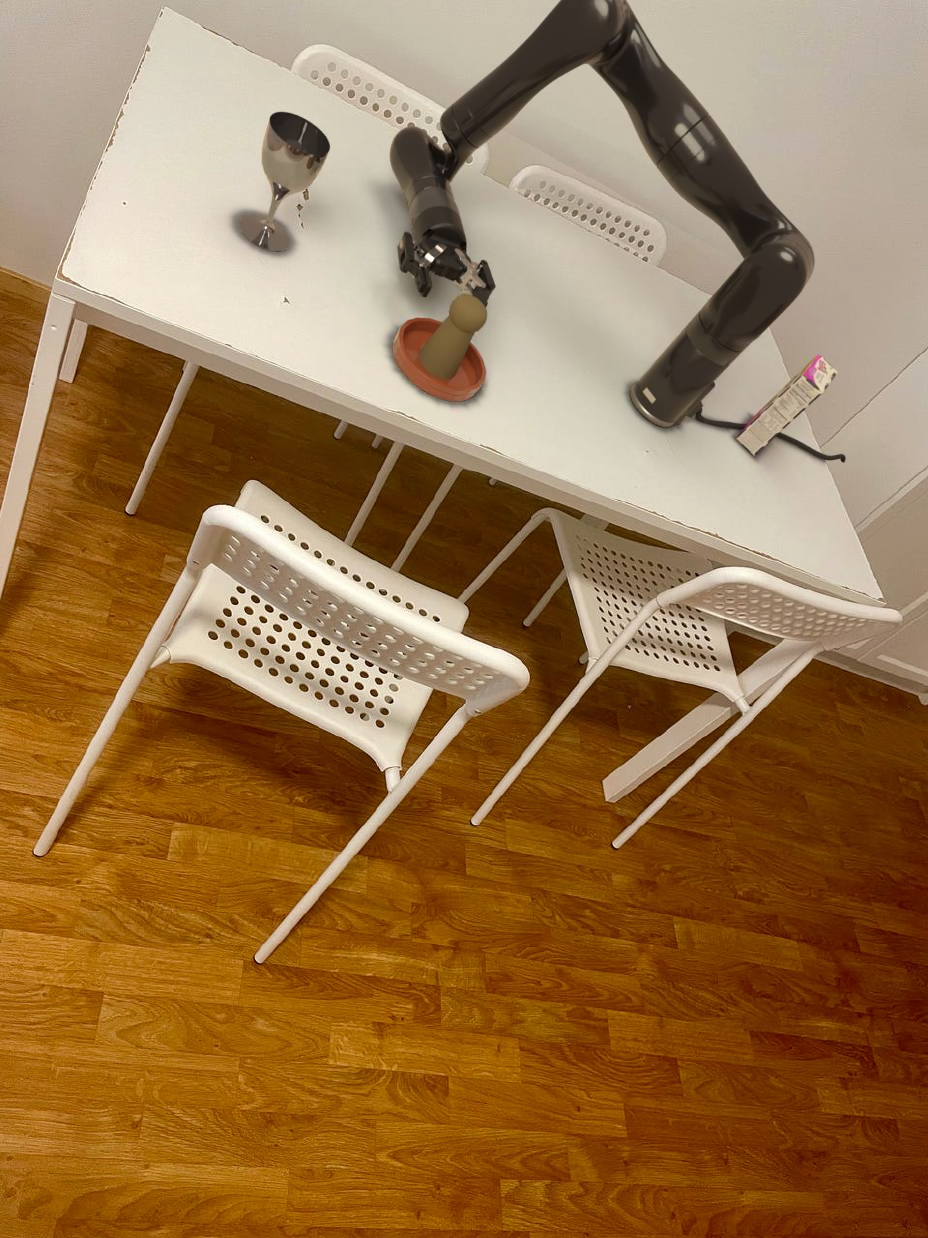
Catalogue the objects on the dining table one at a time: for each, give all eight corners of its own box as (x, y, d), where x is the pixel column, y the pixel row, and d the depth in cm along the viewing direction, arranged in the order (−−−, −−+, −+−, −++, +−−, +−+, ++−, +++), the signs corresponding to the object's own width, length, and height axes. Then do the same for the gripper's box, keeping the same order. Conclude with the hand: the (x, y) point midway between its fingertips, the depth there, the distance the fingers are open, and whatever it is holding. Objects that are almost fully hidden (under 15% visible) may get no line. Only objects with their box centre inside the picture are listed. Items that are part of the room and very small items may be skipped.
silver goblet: (303, 246, 120) (342, 151, 109) (265, 258, 115) (301, 158, 104) (264, 208, 120) (299, 108, 109) (223, 218, 115) (256, 114, 104)
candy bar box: (751, 416, 159) (818, 352, 147) (770, 434, 159) (839, 372, 147) (733, 438, 151) (802, 372, 139) (753, 457, 151) (825, 393, 139)
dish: (469, 343, 127) (476, 332, 126) (485, 410, 121) (493, 400, 119) (387, 318, 121) (393, 306, 119) (399, 387, 114) (406, 376, 113)
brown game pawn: (450, 386, 119) (488, 326, 111) (413, 362, 118) (449, 301, 110) (460, 363, 123) (498, 304, 115) (424, 340, 122) (460, 279, 114)
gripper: (404, 188, 120) (419, 263, 112) (490, 222, 127) (511, 295, 119) (383, 232, 125) (396, 307, 117) (466, 263, 132) (485, 335, 124)
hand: (454, 301), depth 118 cm, fingers open, 8 cm apart
